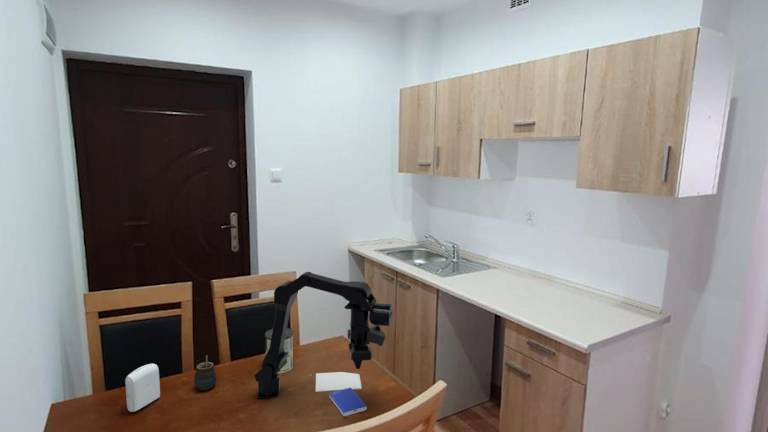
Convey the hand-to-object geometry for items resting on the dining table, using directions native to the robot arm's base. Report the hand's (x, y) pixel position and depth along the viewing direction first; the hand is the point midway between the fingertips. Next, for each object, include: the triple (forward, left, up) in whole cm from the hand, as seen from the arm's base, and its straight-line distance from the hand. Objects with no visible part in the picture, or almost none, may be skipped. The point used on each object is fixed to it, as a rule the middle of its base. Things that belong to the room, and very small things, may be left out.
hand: (357, 368), depth 135 cm
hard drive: (-5, +7, -12) cm, 15 cm away
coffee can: (-28, +29, -13) cm, 42 cm away
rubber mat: (-6, +16, -12) cm, 21 cm away
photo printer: (-69, +9, -13) cm, 70 cm away
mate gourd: (-52, +17, -13) cm, 56 cm away
